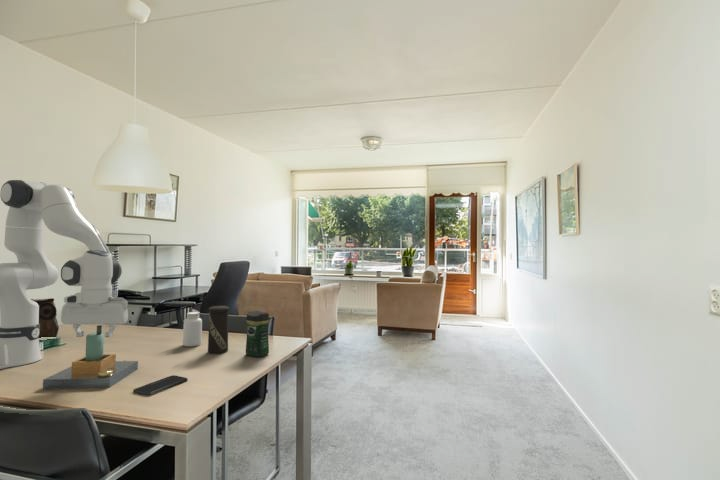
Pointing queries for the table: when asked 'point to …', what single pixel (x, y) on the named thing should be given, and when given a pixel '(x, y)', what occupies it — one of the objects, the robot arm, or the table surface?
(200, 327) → the pill bottle
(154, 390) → the phone
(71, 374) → the wooden box with base
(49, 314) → the owl
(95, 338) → the spout can
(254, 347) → the coffee jar
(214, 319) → the container
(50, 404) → the table surface
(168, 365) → the table surface
